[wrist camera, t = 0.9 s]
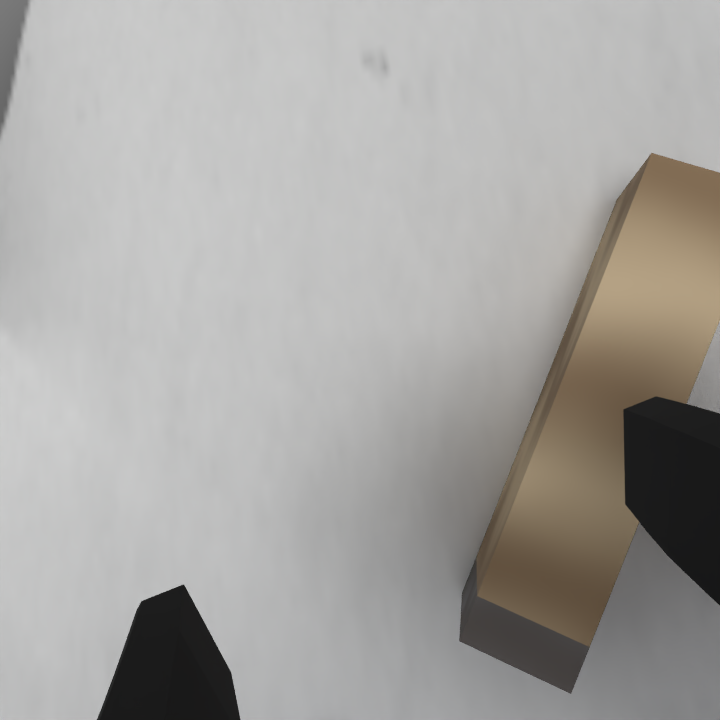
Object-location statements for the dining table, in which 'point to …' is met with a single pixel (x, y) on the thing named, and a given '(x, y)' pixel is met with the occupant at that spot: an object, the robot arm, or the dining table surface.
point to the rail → (597, 425)
